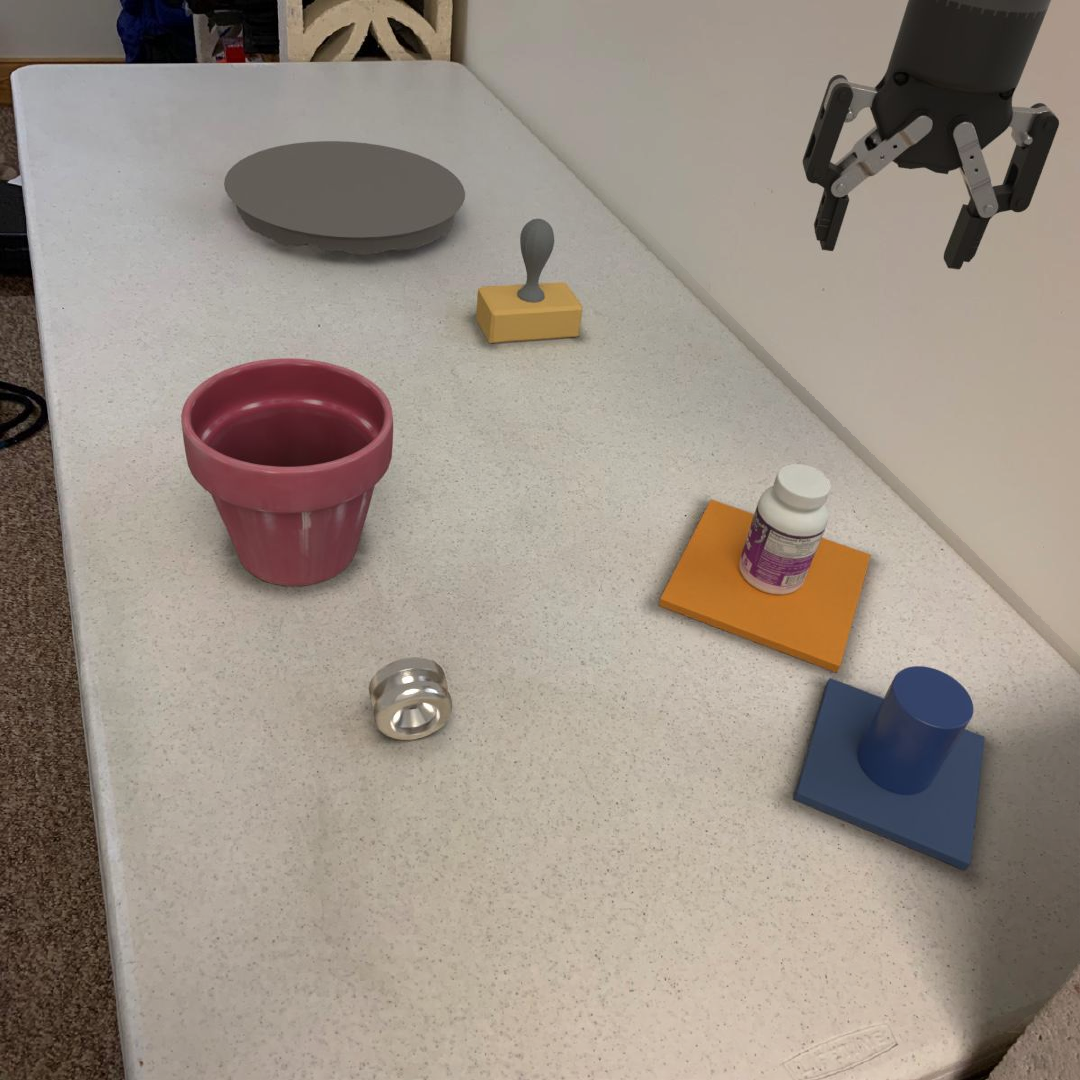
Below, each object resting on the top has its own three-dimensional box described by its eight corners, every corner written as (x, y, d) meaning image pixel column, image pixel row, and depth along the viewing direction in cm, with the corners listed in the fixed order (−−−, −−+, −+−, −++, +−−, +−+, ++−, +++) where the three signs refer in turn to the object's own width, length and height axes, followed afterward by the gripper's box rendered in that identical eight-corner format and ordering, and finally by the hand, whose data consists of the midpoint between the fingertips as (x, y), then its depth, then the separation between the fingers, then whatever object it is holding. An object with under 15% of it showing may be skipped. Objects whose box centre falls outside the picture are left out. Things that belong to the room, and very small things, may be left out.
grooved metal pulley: (443, 702, 67) (446, 652, 64) (452, 737, 65) (456, 688, 62) (368, 713, 66) (368, 663, 62) (375, 749, 64) (375, 699, 60)
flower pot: (382, 485, 84) (383, 352, 75) (401, 603, 74) (404, 465, 65) (204, 493, 80) (184, 356, 72) (198, 618, 70) (174, 476, 62)
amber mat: (868, 561, 83) (871, 554, 82) (836, 673, 73) (840, 666, 72) (708, 505, 86) (710, 498, 86) (658, 605, 76) (660, 598, 76)
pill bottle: (739, 545, 81) (769, 450, 75) (803, 559, 81) (839, 465, 75) (735, 589, 77) (767, 493, 71) (803, 604, 77) (841, 508, 71)
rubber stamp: (561, 311, 110) (576, 206, 102) (579, 338, 106) (595, 231, 98) (474, 317, 107) (482, 209, 99) (489, 345, 103) (499, 234, 95)
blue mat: (980, 743, 69) (984, 736, 69) (965, 871, 62) (970, 864, 61) (826, 684, 72) (829, 677, 71) (793, 800, 64) (796, 792, 64)
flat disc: (229, 276, 107) (224, 237, 104) (226, 173, 127) (223, 138, 124) (482, 273, 114) (485, 237, 111) (443, 176, 134) (444, 143, 131)
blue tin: (936, 750, 67) (977, 683, 63) (927, 807, 64) (970, 740, 59) (863, 722, 69) (898, 654, 64) (851, 776, 65) (887, 708, 60)
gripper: (867, -14, 54) (788, 264, 64) (1129, 21, 54) (1007, 295, 64) (849, -42, 59) (779, 218, 70) (1086, -10, 59) (980, 246, 70)
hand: (888, 255), depth 67 cm, fingers open, 8 cm apart
